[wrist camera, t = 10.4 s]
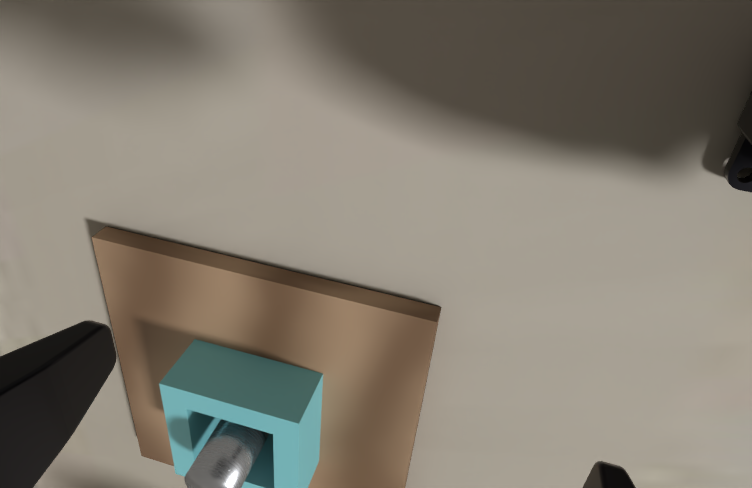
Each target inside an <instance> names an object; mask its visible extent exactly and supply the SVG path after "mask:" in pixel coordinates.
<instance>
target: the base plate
mask: <svg viewBox="0 0 752 488" xmlns="http://www.w3.org/2000/svg"><path fill="white" fill-rule="evenodd" d="M92 241H93V246H94V250H95V254H96V259H97V263H98V267H99V272H100V276H101V280H102V285H103V289H104V294H105V298H106V302H107V307H108V311H109V315H110V320H111V324H112V328H113V333H114V337H115V342H116V346H117V350H118V355H119V359H120V363H121V368H122V372H123V376H124V381H125V385H126V390H127V394H128V398H129V403H130V407H131V411H132V416H133V420H134V425H135V429H136V433H137V438H138V442H139V446H140V451H141V455H142V456H144V457H147V458H150V459H153V460H156V461H159V462H163V463H166V464H169V465H172V466H174V462H173V456H172V451H171V446H170V440H169V435H168V429H167V424H166V419H165V413H164V408H163V402H162V397H161V392H160V386H159V383H160V382H161V380H162V379H163V378H164V377H165V375H166V374H167V373H168V372H169V370H170V369H171V368H172V367H173V365H174V364H175V363H176V362H177V361H178V359H179V358H180V357H181V356H182V354H183V353H184V352H185V351H186V349H187V348H188V347H189V346H190V344H191V343H192V342H193V341H194V339H196V340H200V341H204V342H207V343H211V344H215V345H219V346H222V347H226V348H230V349H233V350H237V351H241V352H245V353H248V354H252V355H256V356H259V357H263V358H267V359H271V360H274V361H278V362H282V363H285V364H289V365H293V366H297V367H300V368H304V369H308V370H312V371H315V372H319V373H323V387H322V408H321V429H320V450H319V462H318V465H317V467H316V469H315V472H314V474H313V477H312V479H311V481H310V484H309V486H308V488H405V485H406V480H407V475H408V470H409V465H410V460H411V456H412V451H413V446H414V441H415V436H416V431H417V426H418V421H419V416H420V411H421V406H422V401H423V396H424V391H425V386H426V381H427V376H428V371H429V366H430V361H431V356H432V351H433V346H434V341H435V336H436V331H437V326H438V321H439V316H440V311H441V307H438V306H434V305H429V304H425V303H421V302H417V301H413V300H409V299H405V298H400V297H396V296H392V295H388V294H384V293H380V292H376V291H371V290H367V289H363V288H359V287H355V286H351V285H347V284H342V283H338V282H334V281H330V280H326V279H322V278H318V277H313V276H309V275H305V274H301V273H297V272H293V271H289V270H284V269H280V268H276V267H272V266H268V265H264V264H260V263H255V262H251V261H247V260H243V259H239V258H235V257H231V256H226V255H222V254H218V253H214V252H210V251H206V250H202V249H197V248H193V247H189V246H185V245H181V244H177V243H173V242H168V241H164V240H160V239H156V238H152V237H148V236H144V235H139V234H135V233H131V232H127V231H123V230H119V229H115V228H110V227H105V228H103V229H102V230H101V231H99V232H98V233H97V234H95V235H94V236H93V237H92Z"/></svg>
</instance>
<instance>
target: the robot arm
mask: <svg viewBox="0 0 752 488" xmlns="http://www.w3.org/2000/svg"><path fill="white" fill-rule="evenodd" d="M737 124H738V126H739V128H740V130H741V131H742V134H741V136H740V138H739V140H738V142H737V144H736V146H735V149H734V151H733V153H732V155H731V157H730V159H729V161H728V163H727V165H726V168H725V172H724V173H725V177H726V179H727V181H728V183H729V184H730V185H731V186H732V187H733V188H735V189H738V190H742V191H748V192H752V172H751V173H750V174H749V175H748V176H746V177H741V178H739V177H737V174H738V172H739V171H740V170H742V169H744V168H752V92H751V94H750V96H749V99H748V101H747V103H746V105H745V107H744V109H743V111H742V113H741V116H740V118H739V120H738V123H737ZM115 362H116V351H115V347H114V343H113V338H112V334H111V330H110V328H109V327H108V326H107V325H105V324H102V323H98V322H95V321H90V320H89V321H83V322H81V323H78V324H76V325H74V326H71V327H69V328H67V329H64V330H62V331H59V332H57V333H55V334H52V335H50V336H48V337H45V338H43V339H41V340H38V341H36V342H33V343H31V344H29V345H26V346H24V347H22V348H19V349H17V350H15V351H12V352H10V353H7V354H5V355H3V356H0V488H33V487H34V485H35V484H36V483H37V481H38V480H39V479H40V478H41V476H42V475H43V474H44V472H45V471H46V470H47V468H48V467H49V466H50V464H51V463H52V462H53V460H54V459H55V458H56V456H57V455H58V454H59V452H60V451H61V450H62V448H63V447H64V446H65V444H66V443H67V441H68V440H69V439H70V437H71V436H72V434H73V433H74V431H75V430H76V428H77V427H78V425H79V423H80V422H81V420H82V419H83V417H84V415H85V414H86V412H87V410H88V409H89V407H90V405H91V404H92V402H93V401H94V399H95V397H96V396H97V394H98V392H99V391H100V389H101V388H102V386H103V384H104V383H105V381H106V379H107V378H108V376H109V374H110V373H111V371H112V370H113V368H114V365H115ZM583 488H636V487H635V486H634V484H633V482H632V480H631V479H630V477H629V475H628V474H627V472H626V471H625V470H624V469H623V468H622V467H620V466H617V465H614V464H610V463H607V462H603V461H598V462H596V463H595V464H594V466H593V468H592V470H591V472H590V474H589V476H588V478H587V480H586V482H585V484H584V486H583Z"/></svg>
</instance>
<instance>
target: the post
mask: <svg viewBox="0 0 752 488" xmlns="http://www.w3.org/2000/svg"><path fill="white" fill-rule="evenodd" d="M269 434H270V433H267V432H263V431H260V430H257V429H253V428H250V427H246V426H243V425H240V424H236V423H233V422H229V421H226V420H223V419H221V420H220V421H219V423H218V425H217V426H216V428H215V429H214V431H213V432H212V434H211V436H210V437H209V439H208V440H207V442H206V444H205V445H204V447H203V448H202V450H201V451H200V453H199V455H198V456H197V458H196V459H195V461H194V462H193V464H192V466H191V467H190V469H189V470H188V472H187V474H186V475H185V483H186V485H187V487H188V488H241V487H242V485H243V483H244V482H245V480H246V478H247V476H248V474H249V472H250V470H251V468H252V466H253V464H254V463H255V461H256V459H257V457H258V455H259V453H260V451H261V449H262V447H263V445H264V444H265V442H266V440H267V438H268V436H269Z"/></svg>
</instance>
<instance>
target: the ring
mask: <svg viewBox="0 0 752 488" xmlns="http://www.w3.org/2000/svg"><path fill="white" fill-rule="evenodd" d="M159 386H160V392H161V397H162V402H163V408H164V413H165V419H166V424H167V429H168V435H169V440H170V446H171V451H172V456H173V462H174V467H175V473H176V474H178V475H182V476H185V475H186V474H187V472H188V470H189V469H190V467H191V466H192V464H193V462H194V461H195V459H196V458H197V456H198V455H199V453H200V451H201V450H202V448H203V447H204V445H205V444H206V442H207V440H208V439H209V437H210V436H211V434H212V432H213V431H214V429H215V428H216V426H217V425H218V423H219V421H220V420H221V419H223V420H226V421H229V422H233V423H236V424H240V425H243V426H246V427H250V428H253V429H257V430H260V431H263V432H267V433H270V434H269V436H268V438H267V440H266V442H265V444H264V445H263V447H262V449H261V451H260V453H259V455H258V457H257V459H256V461H255V463H254V464H253V466H252V468H251V470H250V472H249V474H248V476H247V478H246V480H245V482H244V483H243V485H242V487H241V488H308V486H309V484H310V481H311V479H312V477H313V474H314V472H315V469H316V467H317V465H318V462H319V450H320V429H321V408H322V387H323V373H319V372H315V371H312V370H308V369H304V368H300V367H297V366H293V365H289V364H285V363H282V362H278V361H274V360H271V359H267V358H263V357H259V356H256V355H252V354H248V353H245V352H241V351H237V350H233V349H230V348H226V347H222V346H219V345H215V344H211V343H207V342H204V341H200V340H196V339H194V341H193V342H192V343H191V344H190V346H189V347H188V348H187V349H186V351H185V352H184V353H183V354H182V356H181V357H180V358H179V359H178V361H177V362H176V363H175V364H174V365H173V367H172V368H171V369H170V370H169V372H168V373H167V374H166V375H165V377H164V378H163V379H162V380H161V382H160V383H159Z"/></svg>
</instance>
